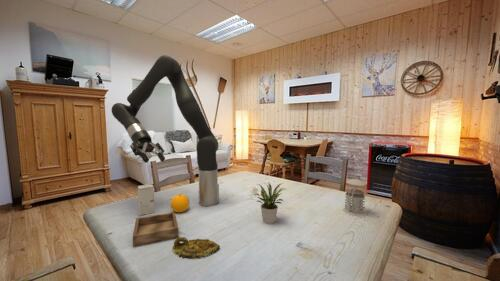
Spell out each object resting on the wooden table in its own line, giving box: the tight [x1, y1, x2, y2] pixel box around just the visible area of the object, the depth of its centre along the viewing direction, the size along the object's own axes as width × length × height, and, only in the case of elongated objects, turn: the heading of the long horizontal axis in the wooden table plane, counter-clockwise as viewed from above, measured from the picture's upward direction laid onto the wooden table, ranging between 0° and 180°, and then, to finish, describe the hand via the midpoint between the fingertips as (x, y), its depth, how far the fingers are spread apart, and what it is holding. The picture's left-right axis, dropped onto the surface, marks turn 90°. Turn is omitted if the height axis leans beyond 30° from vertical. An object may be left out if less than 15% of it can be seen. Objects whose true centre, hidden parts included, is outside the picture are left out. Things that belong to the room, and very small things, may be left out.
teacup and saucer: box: [250, 186, 262, 198], centre depth 118 cm, size 9×8×4 cm
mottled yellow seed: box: [171, 236, 221, 259], centre depth 67 cm, size 9×5×15 cm
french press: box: [342, 158, 367, 218], centre depth 95 cm, size 10×12×25 cm
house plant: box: [255, 181, 286, 225], centre depth 87 cm, size 14×14×16 cm
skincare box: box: [137, 183, 155, 216], centre depth 93 cm, size 6×4×12 cm
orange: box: [170, 193, 190, 213], centre depth 96 cm, size 8×8×8 cm
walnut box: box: [132, 211, 179, 248], centre depth 77 cm, size 14×14×4 cm
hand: (155, 160), depth 93 cm, fingers open, 8 cm apart
